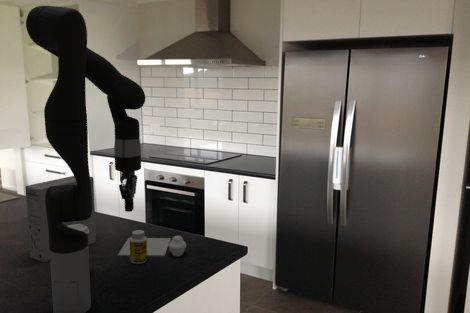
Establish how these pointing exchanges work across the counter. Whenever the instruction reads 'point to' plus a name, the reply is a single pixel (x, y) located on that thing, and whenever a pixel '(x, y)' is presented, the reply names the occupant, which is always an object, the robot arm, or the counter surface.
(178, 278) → the counter surface
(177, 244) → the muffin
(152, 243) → the topple mat
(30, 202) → the cereal box
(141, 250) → the supplement bottle
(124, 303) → the counter surface
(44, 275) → the counter surface
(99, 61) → the robot arm
